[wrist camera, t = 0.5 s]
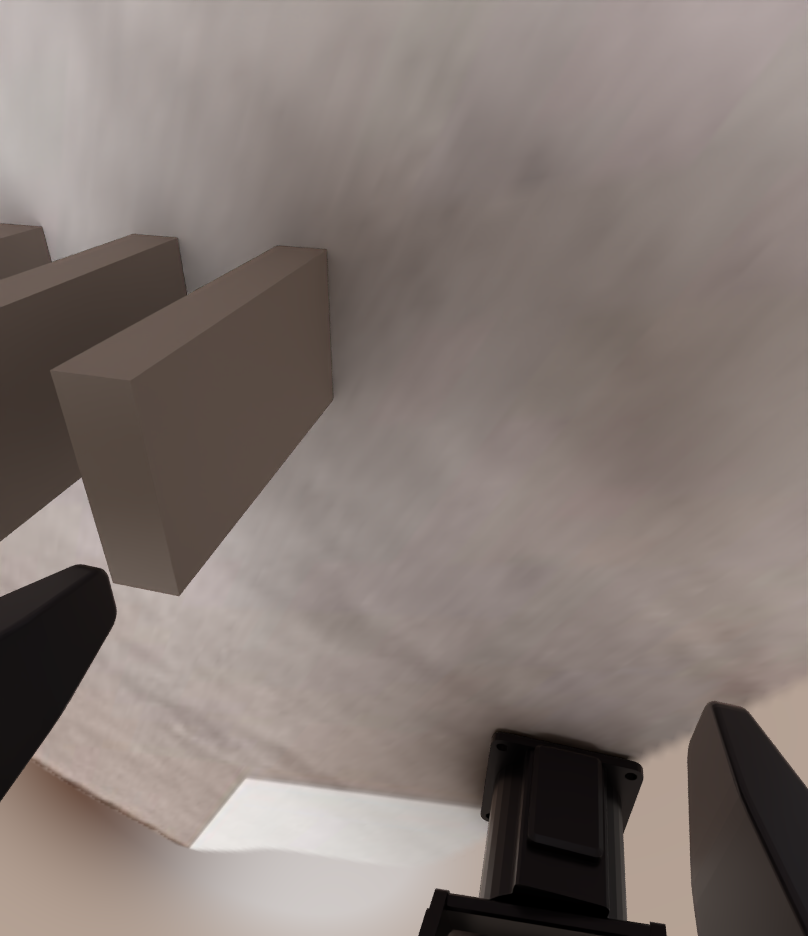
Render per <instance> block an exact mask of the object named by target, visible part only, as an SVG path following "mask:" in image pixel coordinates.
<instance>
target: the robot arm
mask: <svg viewBox="0 0 808 936" xmlns="http://www.w3.org/2000/svg"><path fill="white" fill-rule="evenodd" d="M116 614H117V609H116V604H115V600H114V596H113V593H112V589H111V585H110V581H109V577H108V575H107V573H106V572H105V571H104V570H103V569H101V568H97V567H92V566H87V565H82V564H78V565H74V566H71V567H69V568H66V569H64V570H62V571H60V572H57V573H55V574H53V575H50V576H48V577H46V578H43V579H41V580H39V581H36V582H34V583H32V584H29V585H27V586H25V587H22V588H20V589H18V590H15V591H13V592H11V593H9V594H6V595H4V596H2V597H0V801H1V800H2V799H3V797H4V796H5V794H6V793H7V792H8V790H9V789H10V787H11V786H12V784H13V783H14V782H15V780H16V779H17V778H18V776H19V775H20V773H21V772H22V770H23V769H24V768H25V766H26V765H27V763H28V762H29V761H30V759H31V758H32V756H33V755H34V754H35V752H36V751H37V749H38V748H39V747H40V745H41V744H42V742H43V741H44V739H45V738H46V737H47V735H48V734H49V732H50V731H51V730H52V728H53V727H54V725H55V724H56V722H57V721H58V719H59V718H60V716H61V715H62V713H63V711H64V710H65V708H66V706H67V705H68V703H69V702H70V700H71V698H72V696H73V695H74V693H75V691H76V689H77V688H78V686H79V684H80V683H81V681H82V679H83V677H84V676H85V674H86V672H87V670H88V669H89V667H90V665H91V663H92V662H93V660H94V658H95V656H96V655H97V653H98V651H99V649H100V648H101V646H102V644H103V643H104V641H105V639H106V637H107V636H108V634H109V632H110V630H111V629H112V627H113V625H114V622H115V619H116ZM687 759H688V760H687V763H688V797H689V828H690V829H689V832H690V863H691V864H690V865H691V885H692V894H693V903H694V911H695V918H696V925H697V932H698V936H808V788H807V787H806V785H805V784H804V783H803V782H802V780H801V779H800V778H799V776H798V775H797V774H796V773H795V771H794V770H793V769H792V767H791V766H790V765H789V763H788V762H787V761H786V760H785V758H784V757H783V756H782V754H781V753H780V752H779V750H778V749H777V748H776V747H775V745H774V744H773V743H772V741H771V740H770V739H769V738H768V737H767V735H766V734H765V732H764V731H763V730H762V728H761V727H760V726H759V725H758V723H757V722H756V721H755V719H754V718H753V717H752V715H751V714H750V713H749V712H748V711H747V710H746V709H744V708H743V707H740V706H736V705H731V704H727V703H722V702H717V701H711V702H709V703H708V704H707V705H706V706H705V708H704V710H703V712H702V714H701V717H700V719H699V721H698V724H697V726H696V728H695V731H694V733H693V735H692V738H691V740H690V743H689V748H688V757H687ZM642 781H643V768H642V766H641V765H640V764H639V763H637V762H634V761H630V760H626V759H621V758H617V757H612V756H608V755H603V754H599V753H594V752H590V751H585V750H581V749H576V748H572V747H567V746H563V745H558V744H554V743H549V742H545V741H540V740H536V739H531V738H527V737H522V736H518V735H513V734H509V733H504V732H498V733H495V734H493V736H492V741H491V747H490V754H489V761H488V768H487V775H486V781H485V788H484V795H483V802H482V809H481V817H482V818H483V819H484V820H486V821H488V822H489V825H488V832H487V840H486V847H485V855H484V862H483V870H482V877H481V885H480V893H479V898H477V897H471V896H465V895H458V894H451V893H450V892H449V890H443V889H437V888H436V889H435V892H434V895H433V898H432V901H431V904H430V908H427V910H426V913H425V916H424V919H423V923H422V926H421V929H420V932H419V935H418V936H667V935H666V926H665V924H661V923H655V922H650V925H649V924H643V923H636V922H630V921H627V908H626V888H625V864H624V842H623V833H624V830H625V827H626V825H627V822H628V819H629V817H630V814H631V811H632V809H633V806H634V803H635V800H636V798H637V795H638V792H639V790H640V787H641V784H642Z"/></svg>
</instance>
